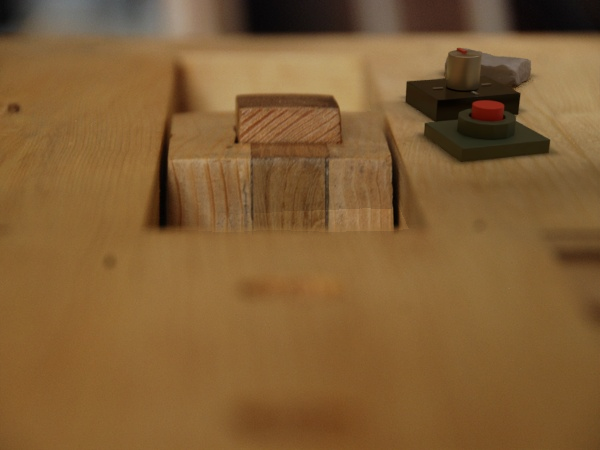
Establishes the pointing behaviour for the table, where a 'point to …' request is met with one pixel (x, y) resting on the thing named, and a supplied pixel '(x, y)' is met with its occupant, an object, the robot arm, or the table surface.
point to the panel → (457, 97)
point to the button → (487, 110)
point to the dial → (463, 70)
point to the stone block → (503, 69)
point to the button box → (485, 137)
